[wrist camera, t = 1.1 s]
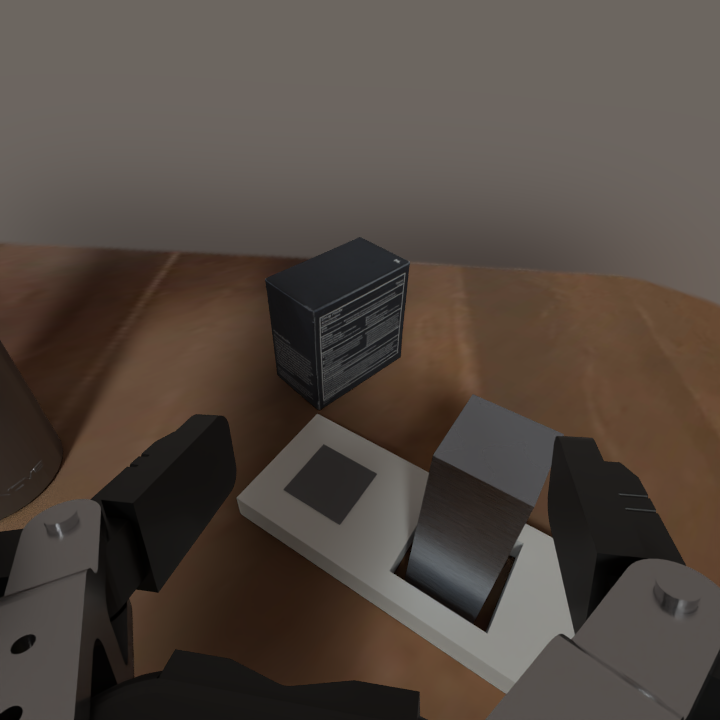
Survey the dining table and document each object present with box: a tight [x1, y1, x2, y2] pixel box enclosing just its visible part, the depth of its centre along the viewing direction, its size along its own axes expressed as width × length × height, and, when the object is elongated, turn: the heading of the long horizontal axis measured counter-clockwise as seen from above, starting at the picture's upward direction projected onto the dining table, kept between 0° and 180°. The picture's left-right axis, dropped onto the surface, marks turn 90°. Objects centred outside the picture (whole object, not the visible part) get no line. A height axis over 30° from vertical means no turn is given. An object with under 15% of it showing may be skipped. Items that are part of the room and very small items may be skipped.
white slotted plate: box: [237, 414, 575, 694], centre depth 30 cm, size 28×9×2 cm, turn 57°
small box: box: [265, 237, 410, 410], centre depth 41 cm, size 11×6×10 cm, turn 134°
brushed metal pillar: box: [404, 395, 564, 624], centre depth 26 cm, size 5×5×13 cm
